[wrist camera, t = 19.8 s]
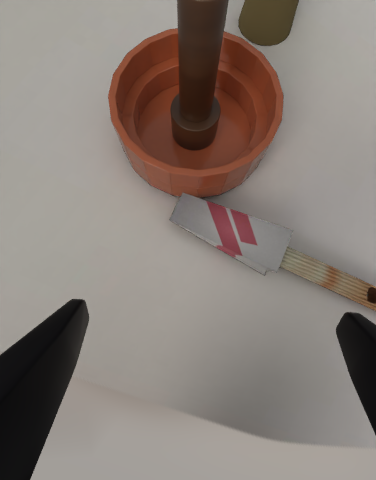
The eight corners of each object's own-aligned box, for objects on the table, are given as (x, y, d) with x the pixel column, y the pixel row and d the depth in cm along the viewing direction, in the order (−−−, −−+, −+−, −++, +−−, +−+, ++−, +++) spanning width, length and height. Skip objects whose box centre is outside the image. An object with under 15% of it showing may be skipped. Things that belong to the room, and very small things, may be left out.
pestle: (217, 150, 24) (250, 13, 12) (172, 151, 24) (161, 12, 12) (215, 111, 25) (243, -52, 13) (171, 111, 25) (161, -53, 13)
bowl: (196, 230, 23) (200, 213, 18) (94, 135, 25) (72, 96, 20) (291, 133, 25) (318, 95, 20) (191, 53, 27) (193, 0, 22)
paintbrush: (186, 179, 20) (409, 285, 20) (184, 192, 23) (381, 285, 22) (165, 220, 20) (397, 330, 19) (166, 228, 22) (369, 325, 22)
